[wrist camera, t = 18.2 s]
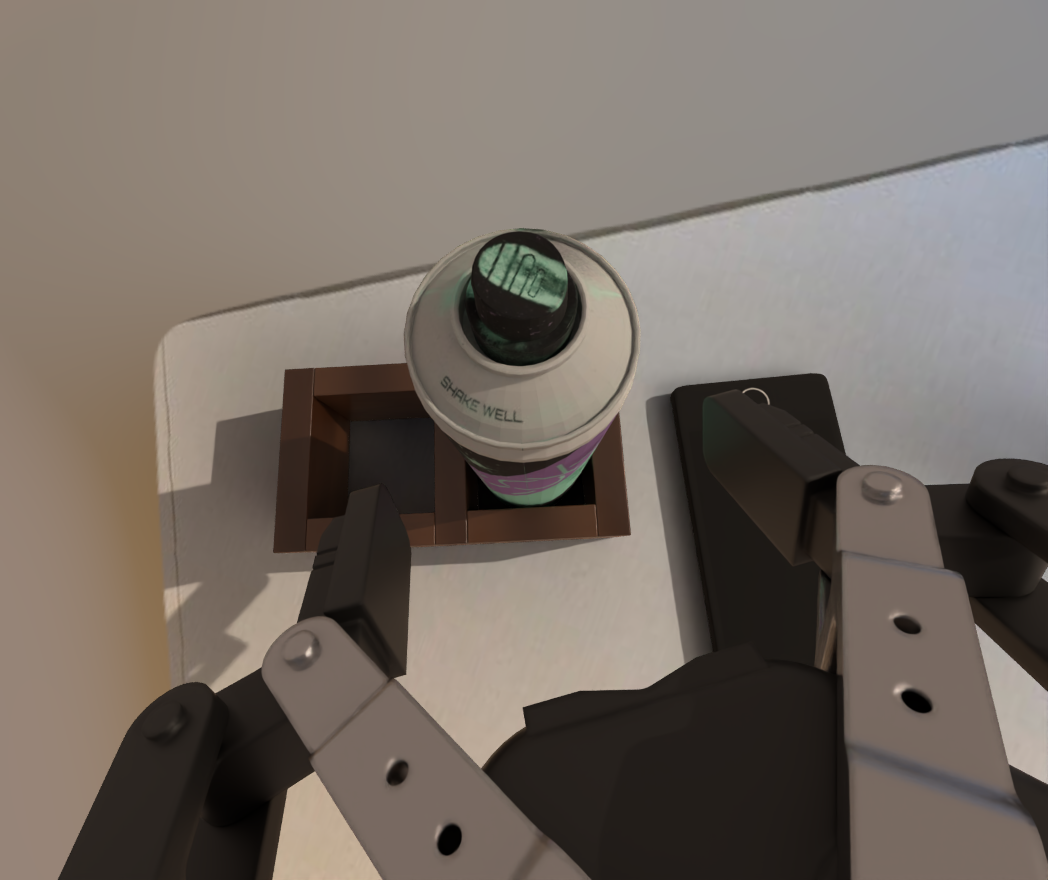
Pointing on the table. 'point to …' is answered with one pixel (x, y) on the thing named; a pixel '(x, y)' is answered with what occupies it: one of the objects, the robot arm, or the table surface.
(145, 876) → the robot arm
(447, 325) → the spray can
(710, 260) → the table surface
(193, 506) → the table surface
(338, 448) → the rack
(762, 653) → the cell phone
